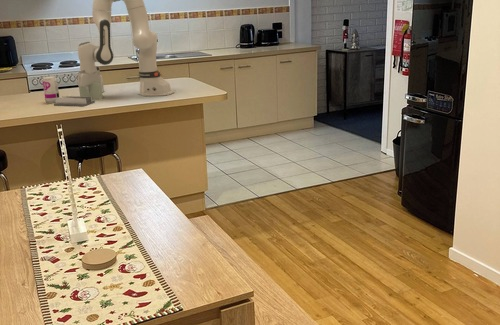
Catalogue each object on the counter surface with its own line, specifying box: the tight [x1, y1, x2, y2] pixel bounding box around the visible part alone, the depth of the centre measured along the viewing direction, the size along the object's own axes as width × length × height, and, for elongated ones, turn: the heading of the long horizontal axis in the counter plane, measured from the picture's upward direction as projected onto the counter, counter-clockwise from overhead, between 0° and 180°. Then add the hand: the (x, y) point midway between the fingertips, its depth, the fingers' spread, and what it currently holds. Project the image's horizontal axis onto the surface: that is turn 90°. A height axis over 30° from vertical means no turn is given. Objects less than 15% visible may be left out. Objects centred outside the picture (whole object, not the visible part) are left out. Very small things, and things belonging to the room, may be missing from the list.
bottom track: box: [53, 95, 96, 107], centre depth 318 cm, size 20×12×4 cm, turn 73°
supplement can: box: [42, 76, 60, 104], centre depth 325 cm, size 8×8×15 cm
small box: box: [100, 75, 105, 93], centre depth 353 cm, size 8×6×10 cm
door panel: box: [78, 82, 104, 100], centre depth 333 cm, size 14×3×10 cm, turn 73°
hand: (90, 91), depth 333 cm, fingers open, 4 cm apart
